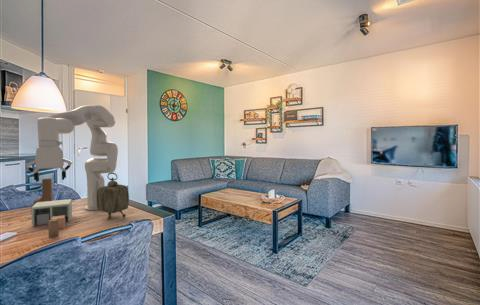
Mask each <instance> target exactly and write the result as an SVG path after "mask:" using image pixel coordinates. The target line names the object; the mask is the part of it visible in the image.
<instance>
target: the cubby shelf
mask: <svg viewBox="0 0 480 305" xmlns="http://www.w3.org/2000/svg"><path fill="white" fill-rule="evenodd" d="M72 204H73V203H72V199H71V198H69V199H59V200H53V201H46V202H37V203H36V204H35V205H34V204H33V205H32V207H31V227H32V228H33V227H35V226H36V225H37V214H38V213H42V212H50V220H51V218H52V217H53V216H61V215H65V218H66V217H67V222H71V219H72V216H73V205H72Z"/></svg>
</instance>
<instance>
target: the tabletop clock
mask: <svg viewBox="0 0 480 305" xmlns="http://www.w3.org/2000/svg"><path fill="white" fill-rule="evenodd" d="M110 175H114V176H116V178H114V177H111V178H110V177H109V176H110ZM106 176H107V179H108V180H109V181H108V182H107V185H105V186H103V187H100V188H99V189H98V190H97V208H98V210H97V211H99V212H103V213H107V215H108V217H107V219H108V220H110V219H112V214H116V213H118V212H119V213H121V215H122V217H123V218H125V217H127V216H126V213H123V211H125V210H127V209H129V204H130V194H129V192H130V191H129V188H128V186H127V185H124V184H120V183H118V182H117V180H118V174H117V173H115V172H113V173H107V175H106Z"/></svg>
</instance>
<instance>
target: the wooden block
mask: <svg viewBox="0 0 480 305" xmlns="http://www.w3.org/2000/svg"><path fill="white" fill-rule="evenodd" d="M41 182H42V183H41V186H42V187H41V188H42V195H41V197H40V198H37V199H34V200H33V206H34V205H35V204H36V203H37V202H46V201H54V200H53V179H52V177H47V178H46V177H45V178H42V180H41Z"/></svg>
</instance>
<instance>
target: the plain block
mask: <svg viewBox="0 0 480 305" xmlns="http://www.w3.org/2000/svg"><path fill="white" fill-rule="evenodd" d="M49 220H50V212H42V213H38V214H37V223H36V225H37V226H38V225H45V224H46V225H48V221H49Z"/></svg>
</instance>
